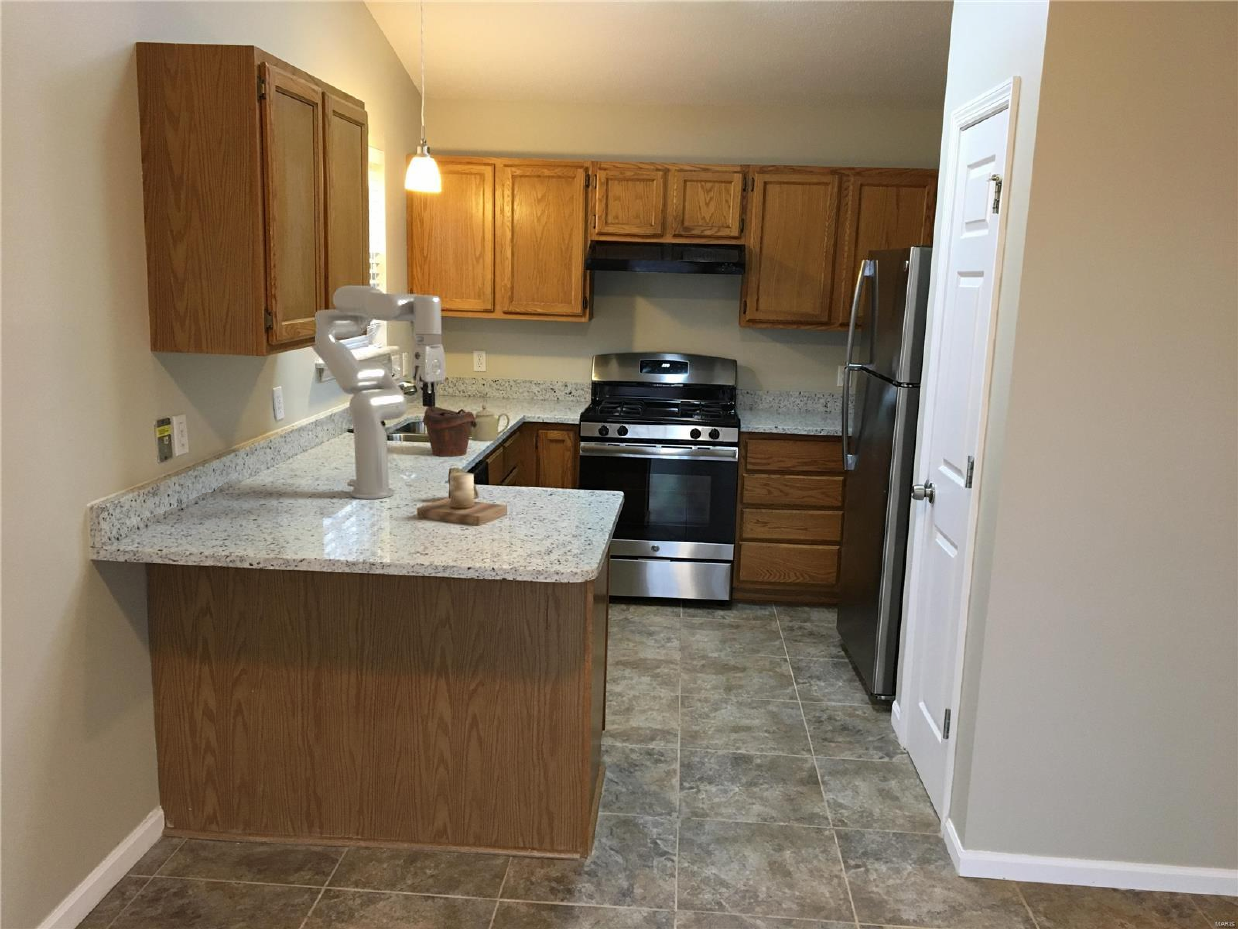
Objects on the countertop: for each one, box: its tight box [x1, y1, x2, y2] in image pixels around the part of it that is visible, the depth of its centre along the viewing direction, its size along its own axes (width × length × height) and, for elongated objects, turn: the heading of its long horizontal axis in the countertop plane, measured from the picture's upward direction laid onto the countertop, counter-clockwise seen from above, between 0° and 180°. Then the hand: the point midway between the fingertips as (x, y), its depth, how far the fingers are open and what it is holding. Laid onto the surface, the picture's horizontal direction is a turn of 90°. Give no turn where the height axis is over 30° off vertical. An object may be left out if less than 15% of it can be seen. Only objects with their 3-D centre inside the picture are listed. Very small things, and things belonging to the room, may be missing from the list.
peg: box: [450, 472, 475, 510], centre depth 256 cm, size 6×6×12 cm
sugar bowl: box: [471, 403, 511, 442], centre depth 391 cm, size 15×11×15 cm
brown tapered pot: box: [422, 406, 477, 457], centre depth 353 cm, size 18×20×18 cm
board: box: [416, 497, 508, 526], centre depth 257 cm, size 20×14×3 cm
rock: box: [447, 467, 480, 499], centre depth 276 cm, size 11×9×10 cm
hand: (429, 406), depth 262 cm, fingers closed
